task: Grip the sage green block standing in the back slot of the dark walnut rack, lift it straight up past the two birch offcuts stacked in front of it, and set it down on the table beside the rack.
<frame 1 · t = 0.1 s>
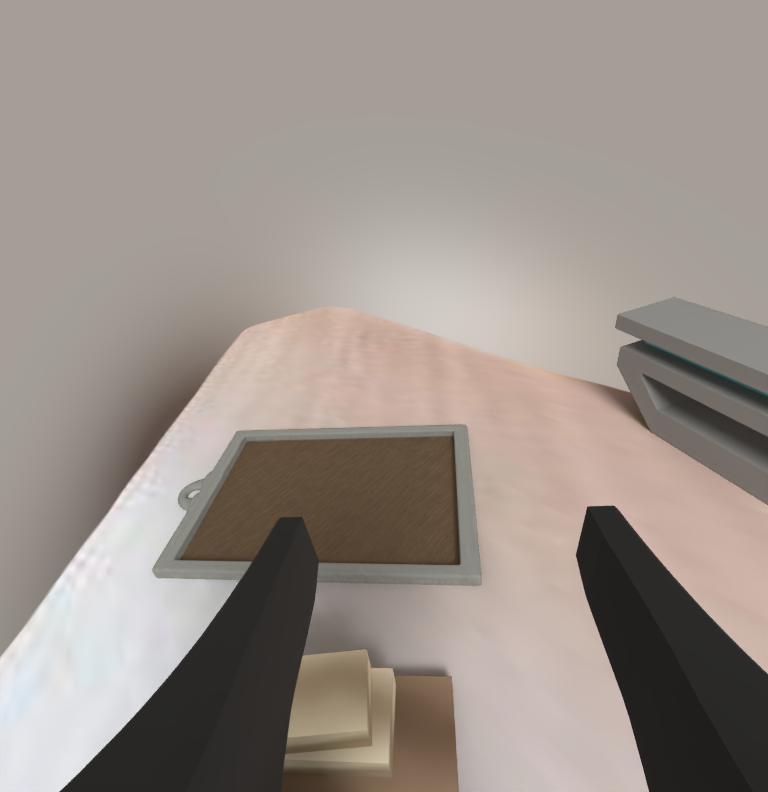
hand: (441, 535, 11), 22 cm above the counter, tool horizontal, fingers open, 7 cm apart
grey framed board: (321, 499, 44), on the counter
offcut lower: (319, 724, 26), point 1 cm above the counter, touching offcut upper, rack
grey slotted block: (732, 452, 42), on the counter
offcut upper: (305, 709, 25), point 3 cm above the counter, touching offcut lower
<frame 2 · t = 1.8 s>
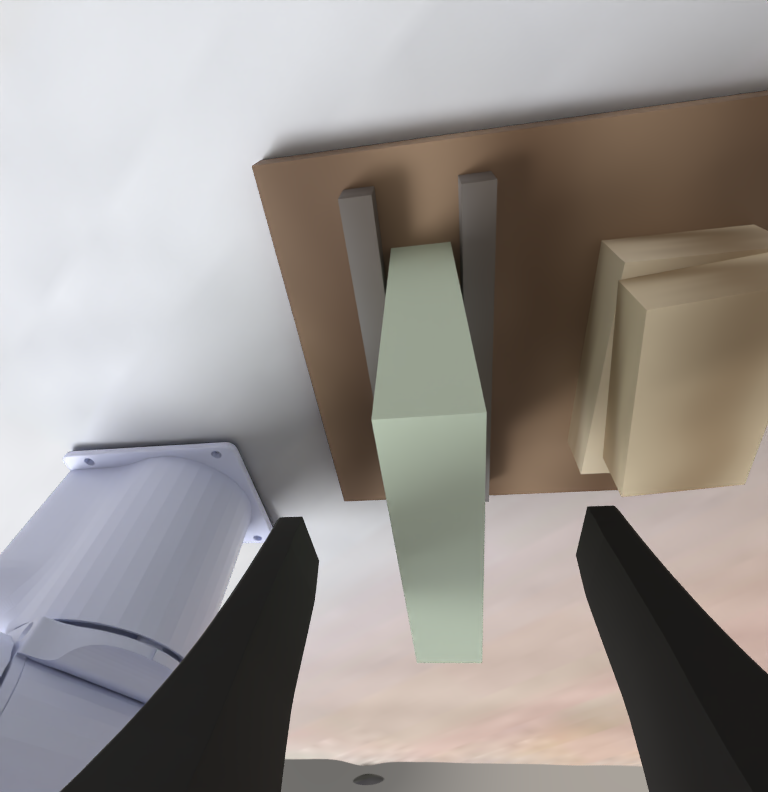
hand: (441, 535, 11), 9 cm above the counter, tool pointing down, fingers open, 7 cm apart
sage green block: (429, 368, 18), point 1 cm above the counter, touching rack
rack: (501, 349, 18), on the counter
offcut lower: (644, 351, 17), point 1 cm above the counter, touching offcut upper, rack
offcut upper: (671, 372, 15), point 3 cm above the counter, touching offcut lower
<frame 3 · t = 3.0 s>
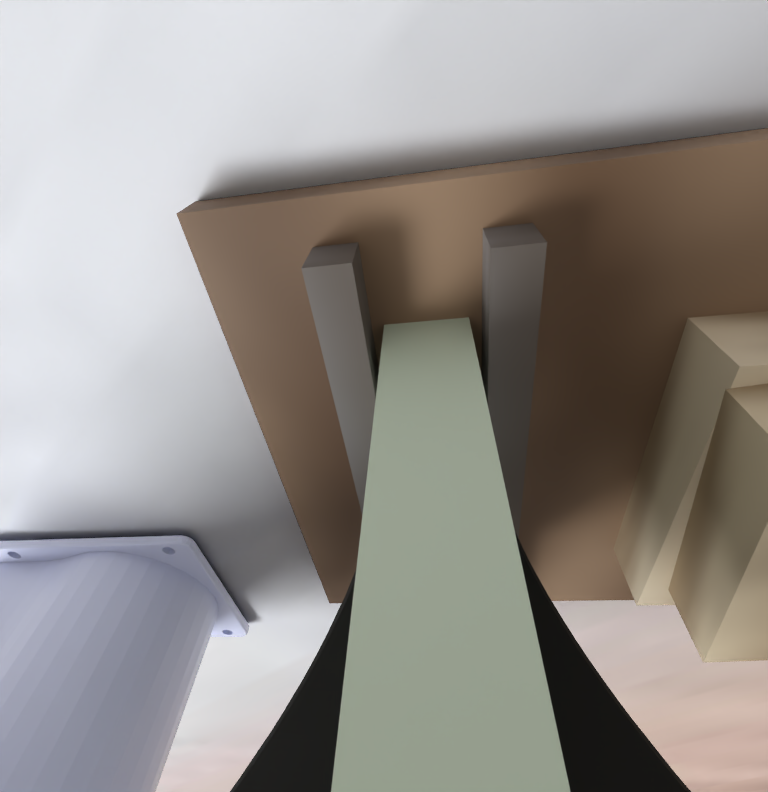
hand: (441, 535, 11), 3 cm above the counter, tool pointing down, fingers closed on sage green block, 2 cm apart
sage green block: (437, 467, 13), point 1 cm above the counter, touching gripper, rack
rack: (531, 439, 14), on the counter
offcut lower: (729, 453, 12), point 1 cm above the counter, touching offcut upper, rack
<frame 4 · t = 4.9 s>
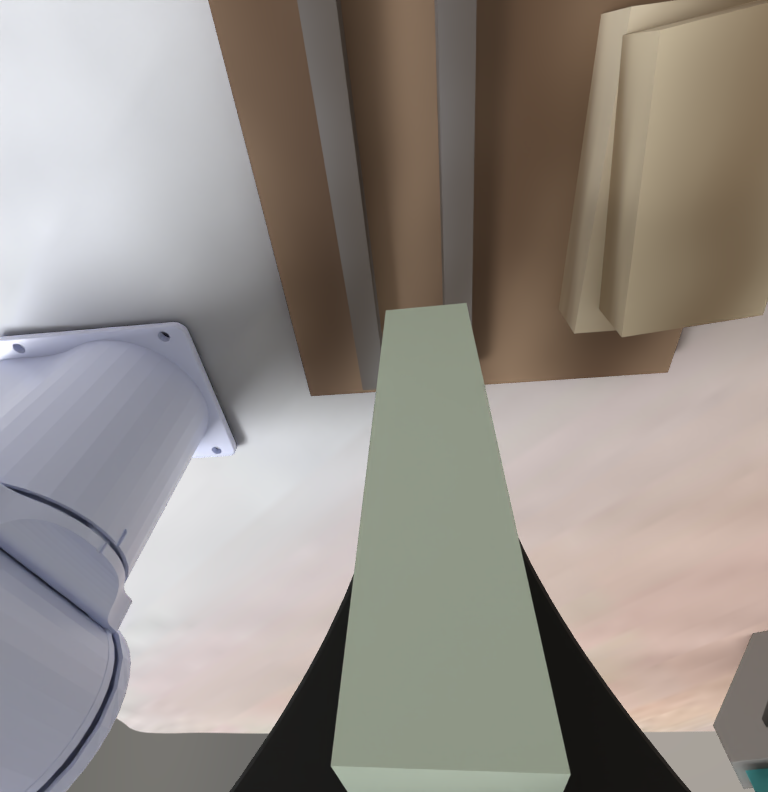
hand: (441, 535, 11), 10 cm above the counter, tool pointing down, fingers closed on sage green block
sage green block: (436, 452, 14), point 7 cm above the counter, touching gripper
rack: (485, 190, 16), on the counter
offcut lower: (646, 180, 15), point 1 cm above the counter, touching offcut upper, rack
offcut upper: (680, 180, 13), point 3 cm above the counter, touching offcut lower
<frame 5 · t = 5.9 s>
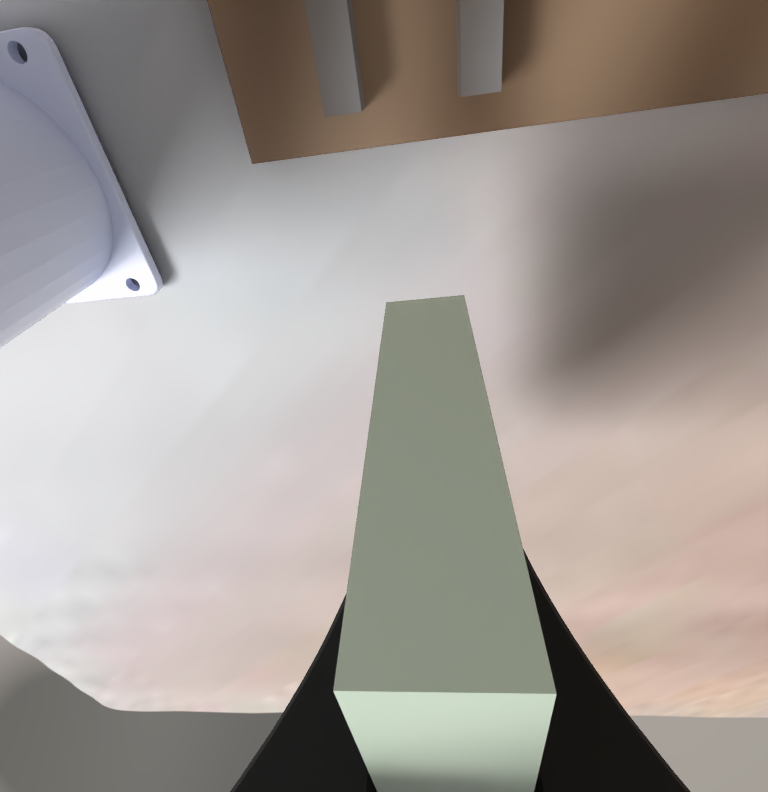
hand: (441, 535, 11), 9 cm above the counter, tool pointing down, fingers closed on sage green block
sage green block: (435, 444, 14), point 6 cm above the counter, touching gripper
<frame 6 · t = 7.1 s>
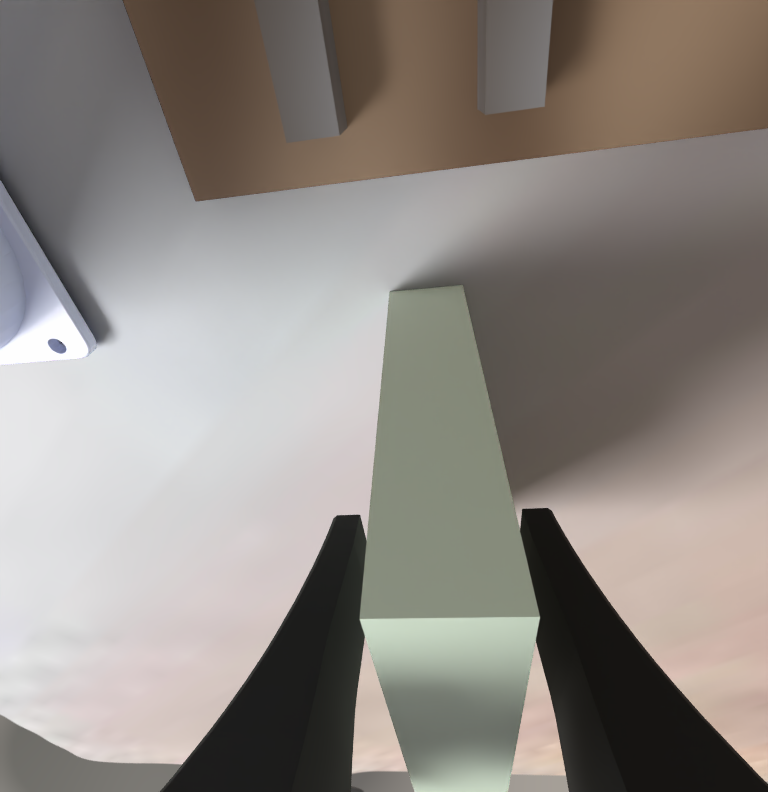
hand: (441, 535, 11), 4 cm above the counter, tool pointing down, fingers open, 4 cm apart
sage green block: (435, 424, 15), on the counter
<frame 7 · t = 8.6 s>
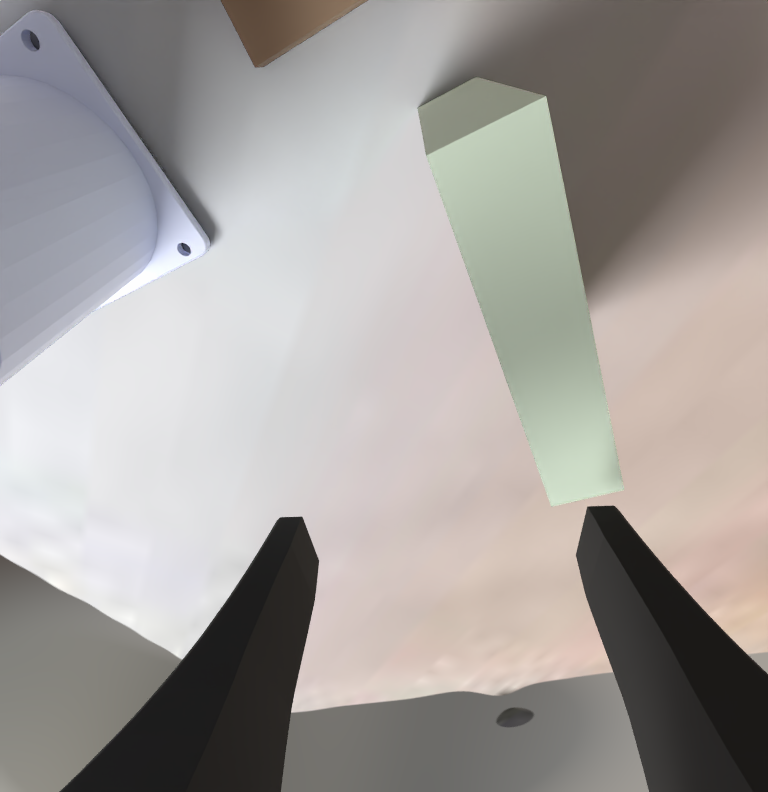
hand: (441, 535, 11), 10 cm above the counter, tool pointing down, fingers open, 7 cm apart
sage green block: (490, 235, 17), on the counter
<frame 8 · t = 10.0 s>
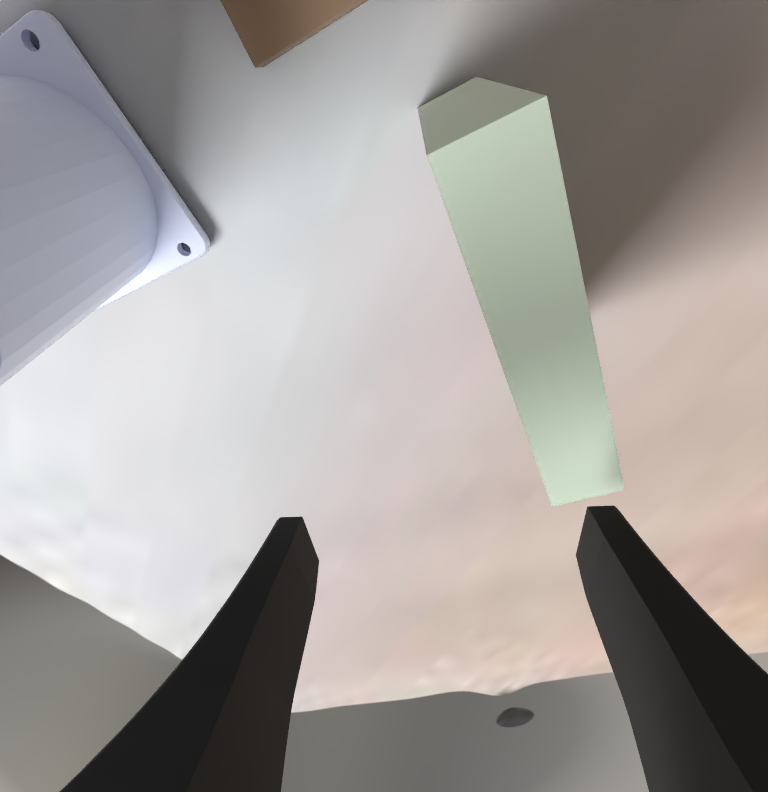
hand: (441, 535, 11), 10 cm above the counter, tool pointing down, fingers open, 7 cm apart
sage green block: (490, 235, 17), on the counter
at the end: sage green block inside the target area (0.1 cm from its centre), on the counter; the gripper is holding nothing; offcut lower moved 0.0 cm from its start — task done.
